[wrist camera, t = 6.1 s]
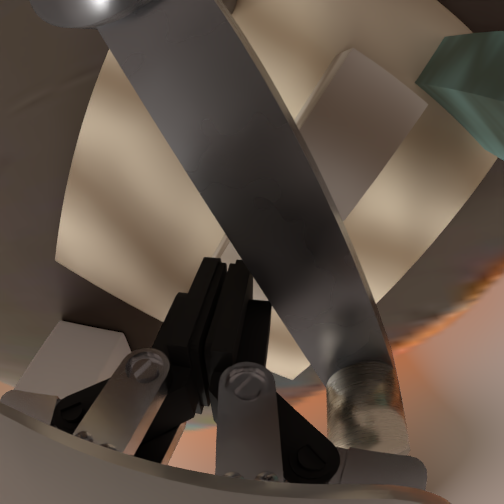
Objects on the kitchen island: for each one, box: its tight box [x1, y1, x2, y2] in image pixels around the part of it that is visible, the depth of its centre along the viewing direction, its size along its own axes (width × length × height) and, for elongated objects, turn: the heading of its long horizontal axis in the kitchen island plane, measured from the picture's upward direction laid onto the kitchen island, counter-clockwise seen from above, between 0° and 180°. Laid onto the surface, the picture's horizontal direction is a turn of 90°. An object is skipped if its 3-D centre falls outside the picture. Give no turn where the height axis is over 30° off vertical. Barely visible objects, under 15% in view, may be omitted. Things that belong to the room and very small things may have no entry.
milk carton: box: [14, 320, 131, 399], centre depth 18 cm, size 7×7×19 cm
